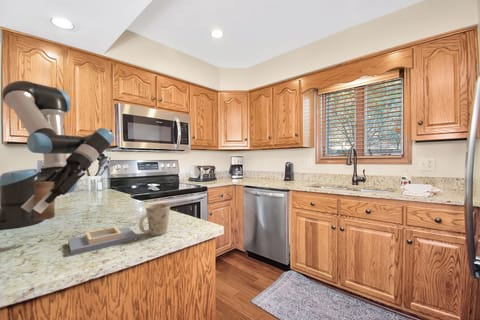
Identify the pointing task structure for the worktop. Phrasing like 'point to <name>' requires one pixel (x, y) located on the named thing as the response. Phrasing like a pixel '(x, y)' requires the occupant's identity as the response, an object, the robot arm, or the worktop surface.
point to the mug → (156, 219)
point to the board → (101, 239)
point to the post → (39, 193)
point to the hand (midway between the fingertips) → (30, 210)
